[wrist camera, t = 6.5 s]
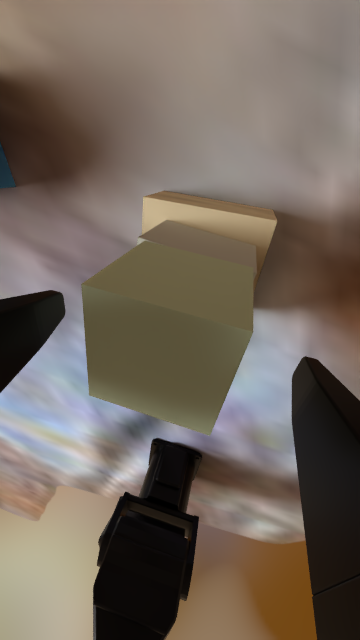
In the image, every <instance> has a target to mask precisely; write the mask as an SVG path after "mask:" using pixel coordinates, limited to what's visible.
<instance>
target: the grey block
mask: <svg viewBox="0 0 360 640" xmlns="http://www.w3.org/2000/svg"><path fill="white" fill-rule="evenodd" d="M143 241H148V242H152V243H156V244H160V245H164V246H168V247H173V248H177V249H181V250H185V251H189V252H193V253H197V254H201V255H205V256H209V257H213V258H217V259H221V260H225V261H229V262H233V263H237V264H241V265H245V266H249V267H253V281H254V279H255V276H256V274H257V262H256V246H255V245H252V244H248V243H245V242H241V241H238V240H234V239H231V238H228V237H224V236H221V235H217V234H214V233H210V232H207V231H204V230H200V229H197V228H193V227H190V226H186V225H183V224H179V223H176V222H173V221H169V220H165V221H163V222H162V223H160V224H159V225H157V226H155V227H154V228H152V229H151V230H149V231H147V232H146V233H144V234H143V235H141V236H139V237H138V242H137V245H139V244H140V243H142V242H143Z"/></svg>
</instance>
